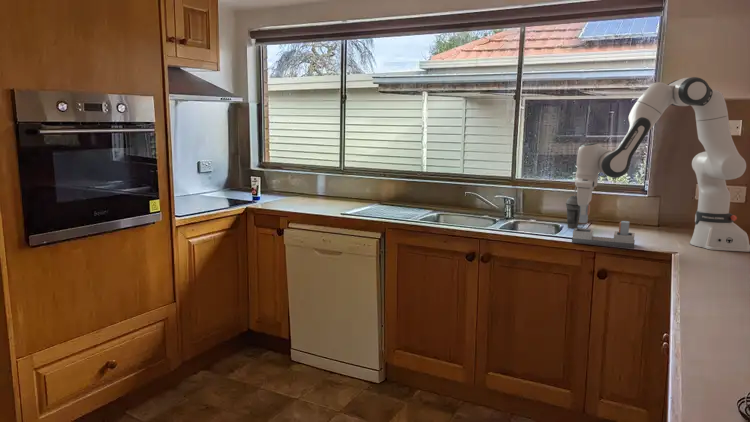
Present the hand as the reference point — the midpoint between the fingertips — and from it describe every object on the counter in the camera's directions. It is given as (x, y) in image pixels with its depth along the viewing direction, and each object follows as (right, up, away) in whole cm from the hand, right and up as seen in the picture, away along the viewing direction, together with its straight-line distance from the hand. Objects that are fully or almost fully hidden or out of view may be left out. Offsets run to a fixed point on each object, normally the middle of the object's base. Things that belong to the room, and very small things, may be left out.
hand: (583, 213), depth 229 cm
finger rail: (+7, -13, -2) cm, 15 cm away
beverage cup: (+8, -7, +34) cm, 35 cm away
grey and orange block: (0, -4, +1) cm, 4 cm away
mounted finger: (+15, -11, -5) cm, 19 cm away
